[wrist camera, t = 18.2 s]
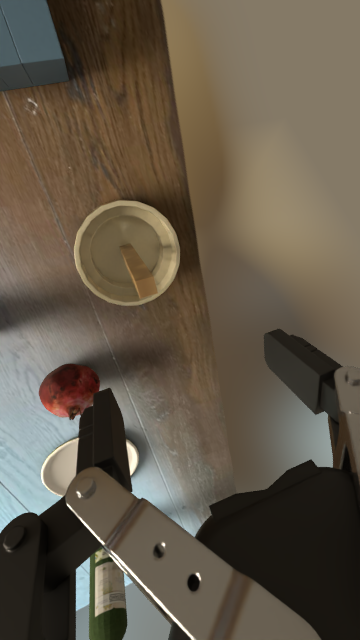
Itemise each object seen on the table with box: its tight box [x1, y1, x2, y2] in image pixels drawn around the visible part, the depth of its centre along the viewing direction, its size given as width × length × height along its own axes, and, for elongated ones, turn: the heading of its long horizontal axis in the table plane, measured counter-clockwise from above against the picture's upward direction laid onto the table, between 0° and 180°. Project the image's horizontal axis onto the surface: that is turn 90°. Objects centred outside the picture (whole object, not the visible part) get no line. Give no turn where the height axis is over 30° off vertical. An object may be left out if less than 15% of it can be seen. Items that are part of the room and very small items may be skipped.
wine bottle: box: [89, 547, 127, 640], centre depth 58 cm, size 8×8×30 cm
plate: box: [41, 438, 139, 497], centre depth 58 cm, size 21×21×1 cm
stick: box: [119, 243, 158, 299], centre depth 32 cm, size 2×2×18 cm
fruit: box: [39, 364, 100, 420], centre depth 43 cm, size 9×10×10 cm
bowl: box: [74, 199, 180, 306], centre depth 38 cm, size 14×14×6 cm
